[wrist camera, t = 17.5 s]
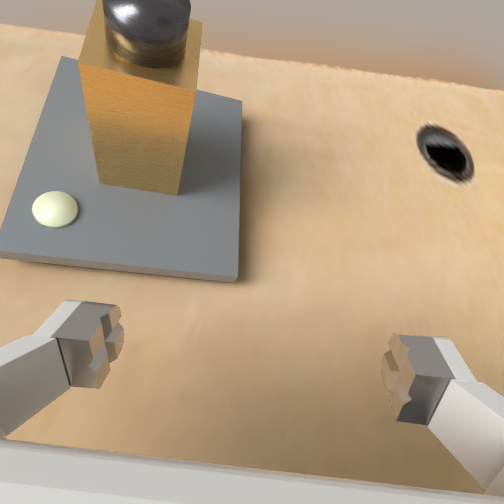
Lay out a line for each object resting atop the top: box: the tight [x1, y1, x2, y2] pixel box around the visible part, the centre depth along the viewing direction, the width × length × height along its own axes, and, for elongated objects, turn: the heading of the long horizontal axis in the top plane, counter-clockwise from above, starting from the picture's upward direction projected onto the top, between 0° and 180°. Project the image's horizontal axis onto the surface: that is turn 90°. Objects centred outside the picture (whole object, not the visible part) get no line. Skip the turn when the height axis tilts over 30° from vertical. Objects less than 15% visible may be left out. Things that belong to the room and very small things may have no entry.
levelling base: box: [0, 56, 242, 283], centre depth 25 cm, size 14×16×2 cm
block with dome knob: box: [78, 0, 202, 196], centre depth 19 cm, size 5×5×11 cm
